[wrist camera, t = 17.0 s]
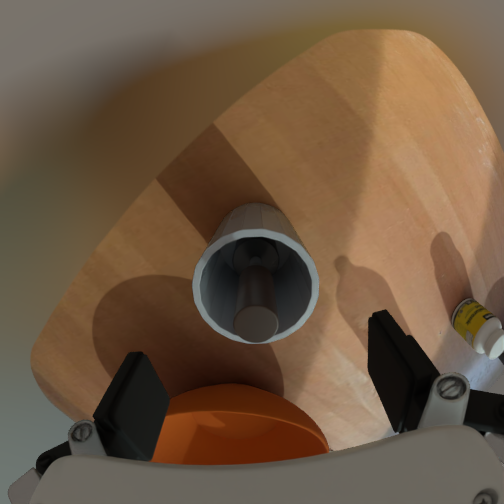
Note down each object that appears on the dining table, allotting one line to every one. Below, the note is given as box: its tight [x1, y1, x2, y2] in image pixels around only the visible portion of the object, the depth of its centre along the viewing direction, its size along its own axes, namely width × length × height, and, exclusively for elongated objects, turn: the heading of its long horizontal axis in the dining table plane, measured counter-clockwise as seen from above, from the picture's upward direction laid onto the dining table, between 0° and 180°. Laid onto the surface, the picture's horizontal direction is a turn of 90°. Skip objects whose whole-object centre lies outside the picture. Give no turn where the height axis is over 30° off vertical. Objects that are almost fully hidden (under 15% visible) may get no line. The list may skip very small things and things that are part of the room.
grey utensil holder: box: [192, 203, 319, 344], centre depth 24 cm, size 8×8×12 cm
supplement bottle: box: [452, 298, 504, 359], centre depth 27 cm, size 5×5×10 cm
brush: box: [232, 236, 279, 343], centre depth 21 cm, size 4×4×15 cm
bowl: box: [149, 383, 329, 465], centre depth 33 cm, size 25×25×10 cm
